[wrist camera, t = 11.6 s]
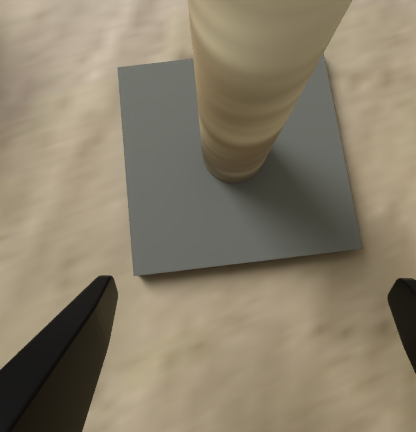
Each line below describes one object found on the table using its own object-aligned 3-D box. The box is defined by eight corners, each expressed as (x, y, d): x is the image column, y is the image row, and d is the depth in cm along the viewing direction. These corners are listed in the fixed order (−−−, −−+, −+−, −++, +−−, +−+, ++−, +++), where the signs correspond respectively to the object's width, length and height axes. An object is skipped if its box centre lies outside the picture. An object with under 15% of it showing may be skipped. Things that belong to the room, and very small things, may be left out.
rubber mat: (354, 249, 18) (362, 248, 17) (138, 275, 18) (133, 276, 17) (316, 54, 20) (321, 43, 19) (122, 76, 20) (117, 67, 19)
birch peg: (277, 157, 18) (420, -62, 6) (228, 195, 18) (268, 52, 5) (237, 112, 18) (288, -182, 6) (189, 148, 18) (142, -84, 6)
